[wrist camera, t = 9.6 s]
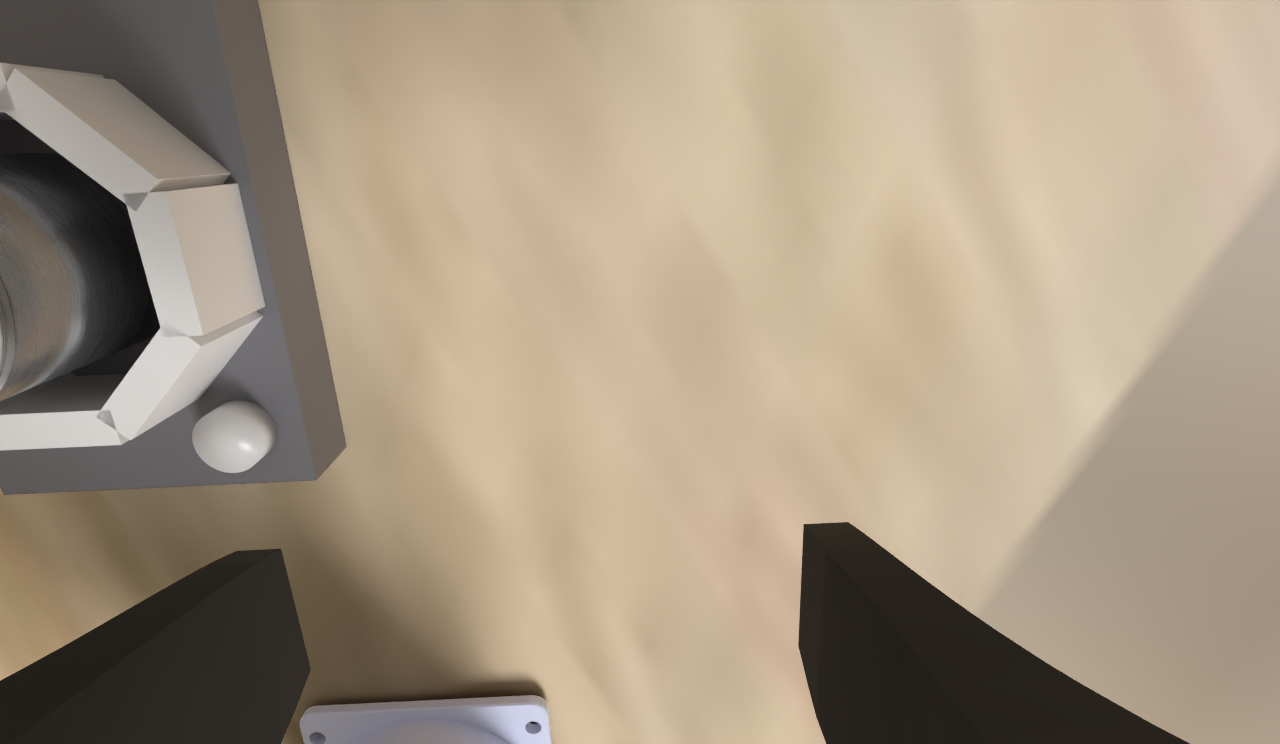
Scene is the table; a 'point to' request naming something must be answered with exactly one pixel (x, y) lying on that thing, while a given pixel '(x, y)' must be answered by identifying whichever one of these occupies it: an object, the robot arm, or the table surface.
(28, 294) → the lens
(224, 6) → the camera body
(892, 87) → the table surface
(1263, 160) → the table surface
